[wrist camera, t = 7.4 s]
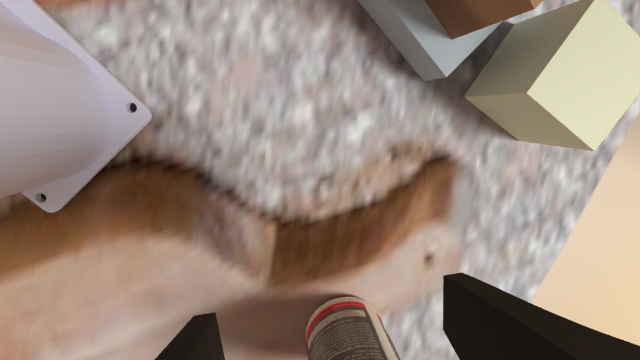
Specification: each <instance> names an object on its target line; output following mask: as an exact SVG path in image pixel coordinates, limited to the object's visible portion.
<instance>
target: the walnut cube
mask: <svg viewBox="0 0 640 360" xmlns="http://www.w3.org/2000/svg"><path fill="white" fill-rule="evenodd" d="M542 1H543V0H425V2H426V3H427V4H428V6H429V7H430V9H431V10H432V12H433V13H434V15H435V16H436V17H437V19H438V20H439V22H440V23H441V25H442V26H443V28H444V29H445V30H446V32H447V33H448V35H449V36H450V38H451V39H452V40H453V39H455V38H458V37H461V36H463V35H466V34H469V33H471V32H474V31H477V30H479V29H482V28H485V27H487V26H490V25H493V24H495V23H498V22H501V21H503V20H506V19H509V18H511V17H514V16H517V15H519V14H522V13H525V12H527V11H530V10H533V9H535V8H536V7H537V6H538V5H539V4H540V3H541V2H542Z"/></svg>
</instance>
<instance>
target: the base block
mask: <svg viewBox="0 0 640 360" xmlns="http://www.w3.org/2000/svg"><path fill="white" fill-rule="evenodd" d="M357 1H358V2H359V3H360V4H361V5H362V7H363V8H364V9H365V10H366V12H367V13H368V14H369V15H370V17H371V18H372V19H373V20H374V21H375V23H376V24H377V25H378V26H379V28H380V29H381V30H382V31H383V32H384V34H385V35H386V36H387V37H388V39H389V40H390V41H391V42H392V43H393V45H394V46H395V47H396V48H397V50H398V51H399V52H400V53H401V55H402V56H403V57H404V58H405V59H406V61H407V62H408V63H409V64H410V66H411V67H412V68H413V69H414V70H415V72H416V73H417V74H418V75H419V77H420V78H421V79H422V80H423V81H429V80H434V79H440V78H445V77H447V76H448V75H449V74H450V73H451V72H452V71H453V70H454V69H455V68H456V67H457V66H458V65H459V64H460V63H461V62H462V61H463V60H464V59H465V58H466V57H467V56H468V55H469V54H470V53H471V52H472V51H473V50H474V49H475V48H476V47H477V46H478V45H479V44H480V43H481V42H482V41H484V40H485V39H486V38H487V37H488V36H489V35H490V34H491V33H492V32H493V31H494V30H495V29H496V28H497V27H498V26H499V25H500V24H501V23H502V22H503V21H504V20H503V21H501V22H498V23H495V24H493V25H490V26H487V27H485V28H482V29H479V30H477V31H474V32H471V33H469V34H466V35H463V36H461V37H458V38H455V39H453V40H452V39H451V38H450V36H449V35H448V33H447V32H446V30H445V29H444V28H443V26H442V25H441V23H440V22H439V20H438V19H437V17H436V16H435V15H434V13H433V12H432V10H431V9H430V7H429V6H428V4H427V3H426V2H425V0H357Z"/></svg>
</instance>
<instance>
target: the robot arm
mask: <svg viewBox="0 0 640 360" xmlns="http://www.w3.org/2000/svg"><path fill="white" fill-rule="evenodd" d="M132 103H134V104H135V105H136V106H137V110H136V112H132V111H131V110H130V105H131V104H132ZM151 119H152V113H151V111H150V109H149V108H148V107H147V106H146V105H145V104H144V103H142V102H141V101H140V100H139V99H138V98H137V97H136V96H135V95H134V94H133V93H132V92H131V91H130V90H129V89H128V88H126V87H125V86H124V85H123V84H122V83H121V82H120V81H119V80H118V79H117V78H116V77H115V76H114V75H113V74H112V73H111V72H109V71H108V70H107V69H106V68H105V67H104V66H103V65H102V64H101V63H100V62H99V61H98V60H97V59H96V58H95V57H93V56H92V55H91V54H90V53H89V52H88V51H87V50H86V49H85V48H84V47H83V46H82V45H81V44H80V43H79V42H78V41H76V40H75V39H74V38H73V37H72V36H71V35H70V34H69V33H68V32H67V31H66V30H65V29H64V28H63V27H62V26H60V25H59V24H58V23H57V22H56V21H55V20H54V19H53V18H52V17H51V16H50V15H49V14H48V13H47V12H46V11H45V10H43V9H42V8H41V7H40V6H39V5H38V4H37V3H36V2H35V1H34V0H0V199H1V198H4V197H7V196H10V195H13V194H16V193H22V194H23V195H24V196H26V197H27V198H28V199H30V200H31V201H32V202H34V203H35V204H36V205H38V206H39V207H40V208H42V209H43V210H44V211H46V212H50V213H52V212H56V211H58V210H60V209H62V208H63V207H64V206H65V205H66V204H67V203H68V202H69V201H70V200H71V199H72V198H73V197H74V196H75V195H76V194H77V193H78V192H79V191H80V190H81V189H82V188H83V187H84V186H85V185H86V184H87V183H88V182H89V181H90V180H91V179H92V178H93V177H94V176H95V175H96V174H97V173H98V172H99V171H100V170H101V169H102V168H103V167H104V166H105V165H107V164H108V163H109V162H110V161H111V160H112V159H113V158H114V157H115V156H116V155H117V154H118V153H119V152H120V151H121V150H122V149H123V148H124V147H125V146H126V145H127V144H128V143H129V142H130V141H131V140H132V139H133V138H134V137H135V136H136V135H137V134H138V133H139V132H140V131H141V130H142V129H143V128H144V127H145V126H146V125H147V124H148V123H149V122H150V121H151ZM41 193H42V194H44V195H45V196H46V200H44V199H43V198H42V197H41ZM443 330H444V332H445V334H446V336H447V337H448V339H449V341H450V343H451V345H452V347H453V348H454V350H455V352H456V354H457V355H458V357H459V359H460V360H640V346H638V345H635V344H632V343H630V342H627V341H624V340H621V339H618V338H615V337H612V336H610V335H607V334H604V333H601V332H598V331H596V330H593V329H591V328H588V327H585V326H583V325H580V324H578V323H575V322H573V321H571V320H568V319H566V318H563V317H561V316H558V315H556V314H554V313H551V312H549V311H547V310H544V309H542V308H540V307H538V306H535V305H533V304H531V303H529V302H526V301H524V300H522V299H520V298H518V297H515V296H513V295H511V294H509V293H507V292H505V291H502V290H500V289H498V288H496V287H494V286H492V285H489V284H487V283H485V282H483V281H481V280H478V279H476V278H474V277H471V276H469V275H466V274H464V273H456V274H450V275H444V285H443ZM155 360H225V358H224V353H223V348H222V343H221V338H220V333H219V328H218V324H217V319H216V314H215V313H209V314H203V315H197V316H194V317H193V318H192V319H191V320H190V321H189V322H188V323H187V324H186V325H185V326H184V328H183V329H182V330H181V331H180V332H179V333H178V334H177V335H176V337H175V338H174V339H173V340H172V341H171V342H170V343H169V344H168V346H167V347H166V348H165V349H164V350H163V351H162V352H161V353H160V354H159V355H158V357H157V358H156V359H155Z"/></svg>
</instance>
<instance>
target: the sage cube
mask: <svg viewBox="0 0 640 360" xmlns="http://www.w3.org/2000/svg"><path fill="white" fill-rule="evenodd" d="M639 93H640V37H639V36H638V35H637V34H636V32H635V31H634V30H633V29H632V28H631V27H630V26H629V25H628V24H627V23H626V22H625V21H624V20H623V19H622V18H621V17H620V16H619V14H618V13H617V12H616V11H615V10H614V9H613V8H612V7H611V6H610V5H609V4H608V3H607V2H606V1H605V0H580V1H577V2H575V3H572V4H569V5H566V6H564V7H561V8H558V9H555V10H552V11H550V12H547V13H544V14H541V15H539V16H536V17H533V18H530V19H527V20H525V21H522V22H519V23H516V24H514V25H513V27H512V28H511V29H510V31H509V32H508V34H507V35H506V37H505V38H504V39H503V41H502V42H501V44H500V45H499V47H498V48H497V50H496V51H495V52H494V54H493V55H492V57H491V58H490V60H489V61H488V62H487V64H486V65H485V67H484V68H483V70H482V71H481V73H480V74H479V75H478V77H477V78H476V80H475V81H474V83H473V84H472V85H471V87H470V88H469V90H468V91H467V93H466V94H465V96H464V98H465V99H467V100H468V101H469V102H470V103H472V104H473V105H474V106H475V107H477V108H478V109H479V110H480V111H482V112H483V113H484V114H485V115H487V116H488V117H489V118H490V119H492V120H493V121H494V122H496V123H497V124H498V125H499V126H501V127H502V128H503V129H504V130H506V131H507V132H508V133H509V134H511V135H512V136H513V137H514V138H516V139H517V140H518V141H524V142H532V143H539V144H546V145H554V146H561V147H568V148H576V149H583V150H591V151H595V150H596V148H597V147H598V146H599V144H600V143H601V142H602V141H603V139H604V138H605V137H606V136H607V134H608V133H609V132H610V130H611V129H612V128H613V127H614V125H615V124H616V123H617V121H618V120H619V119H620V118H621V116H622V115H623V114H624V112H625V111H626V110H627V109H628V107H629V106H630V105H631V104H632V102H633V101H634V100H635V98H636V97H637V96H638V95H639Z"/></svg>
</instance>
